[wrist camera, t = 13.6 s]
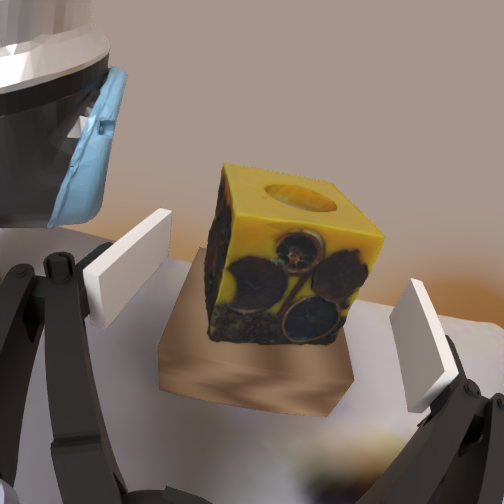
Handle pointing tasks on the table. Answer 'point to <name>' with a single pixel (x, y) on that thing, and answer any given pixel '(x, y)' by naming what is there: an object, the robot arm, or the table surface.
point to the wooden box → (247, 363)
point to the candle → (284, 258)
